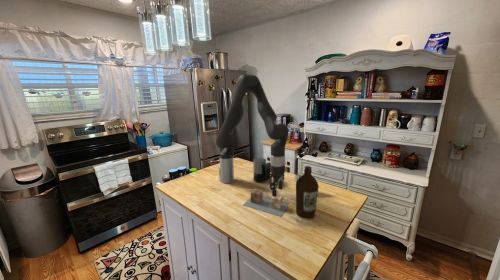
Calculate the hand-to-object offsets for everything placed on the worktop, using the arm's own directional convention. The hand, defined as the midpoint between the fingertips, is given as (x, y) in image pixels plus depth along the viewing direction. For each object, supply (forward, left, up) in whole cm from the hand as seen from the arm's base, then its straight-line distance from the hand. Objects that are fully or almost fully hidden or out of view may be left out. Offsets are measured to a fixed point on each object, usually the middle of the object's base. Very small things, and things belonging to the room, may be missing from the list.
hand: (277, 192), depth 109 cm
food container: (+8, +23, -9) cm, 26 cm away
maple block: (0, 0, -8) cm, 8 cm away
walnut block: (-12, 0, -8) cm, 15 cm away
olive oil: (+15, +1, -9) cm, 17 cm away
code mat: (-6, 0, -9) cm, 11 cm away
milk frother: (-20, +29, -9) cm, 37 cm away
